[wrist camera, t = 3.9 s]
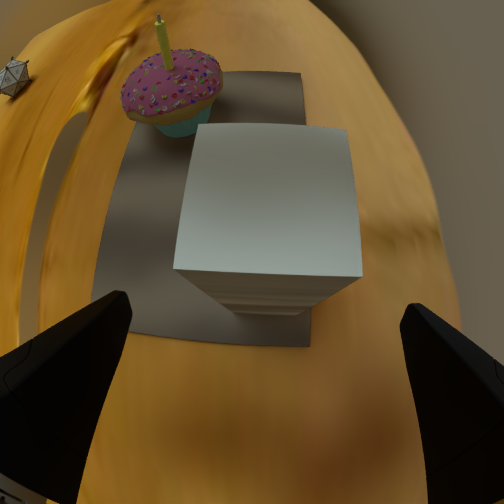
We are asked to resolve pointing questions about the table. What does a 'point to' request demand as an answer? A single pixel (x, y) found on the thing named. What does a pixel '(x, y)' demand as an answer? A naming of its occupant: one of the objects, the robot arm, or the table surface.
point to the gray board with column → (233, 220)
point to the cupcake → (172, 88)
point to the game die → (13, 77)
